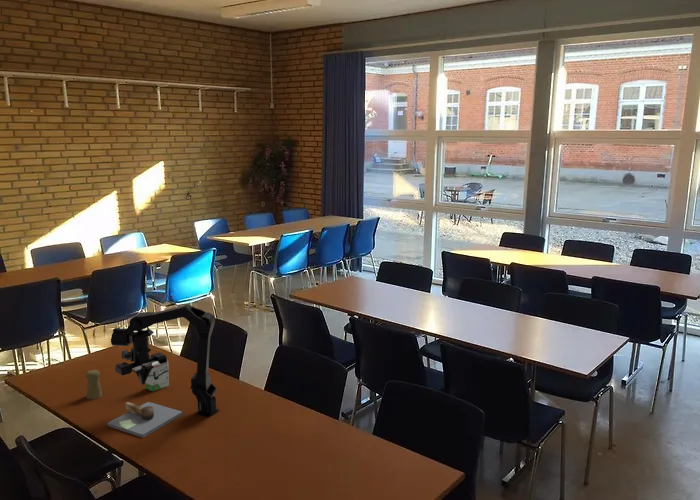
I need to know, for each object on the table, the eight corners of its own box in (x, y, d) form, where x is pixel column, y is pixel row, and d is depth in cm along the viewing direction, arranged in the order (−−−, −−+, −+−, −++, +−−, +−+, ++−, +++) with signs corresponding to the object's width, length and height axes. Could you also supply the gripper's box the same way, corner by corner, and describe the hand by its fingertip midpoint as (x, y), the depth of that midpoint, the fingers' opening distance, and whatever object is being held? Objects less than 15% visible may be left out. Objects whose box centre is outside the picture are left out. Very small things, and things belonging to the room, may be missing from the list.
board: (182, 414, 221) (182, 411, 220) (143, 437, 203) (142, 434, 203) (148, 404, 228) (148, 401, 228) (107, 426, 211) (107, 422, 210)
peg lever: (156, 415, 216) (156, 408, 215) (146, 420, 212) (146, 412, 211) (131, 406, 223) (131, 398, 222) (122, 410, 219) (121, 403, 219)
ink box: (152, 392, 240) (150, 365, 238) (145, 388, 243) (144, 362, 241) (169, 385, 247) (168, 359, 244) (163, 382, 250) (161, 356, 247)
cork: (105, 393, 238) (103, 368, 236) (97, 399, 232) (95, 374, 230) (91, 392, 238) (89, 367, 236) (83, 398, 232) (81, 373, 230)
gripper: (152, 335, 230) (154, 371, 233) (107, 346, 216) (109, 385, 219) (167, 341, 223) (168, 379, 226) (121, 354, 209) (123, 394, 212)
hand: (142, 384), depth 221 cm, fingers closed
